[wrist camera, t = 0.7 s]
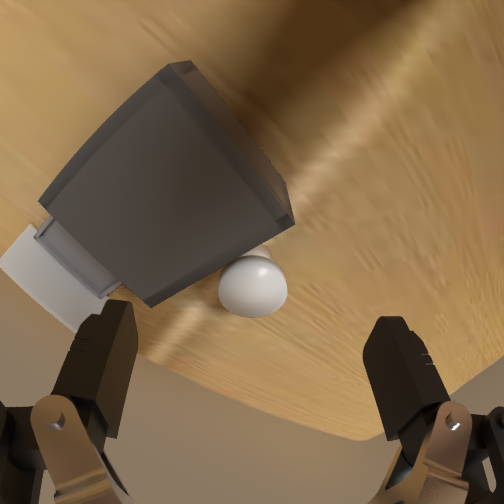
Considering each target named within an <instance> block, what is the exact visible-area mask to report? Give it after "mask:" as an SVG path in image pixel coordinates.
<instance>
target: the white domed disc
mask: <svg viewBox="0 0 504 504" xmlns="http://www.w3.org/2000/svg"><path fill="white" fill-rule="evenodd" d="M218 297H219V300H220V302H221V304H222V305H223V306H224V307H225V308H226V309H227V310H228V311H230V312H231V313H233V314H236V315H238V316H242V317H249V318H256V317H263V316H266V315H269V314H272V313H273V312H275V311H277V310H278V309H279V308H280V307H281V306H282V305H283V304H284V302H285V300H286V298H287V285H286V277H285V273H284V271H283V269H282V268H281V267H280V266H279V265H278V264H277V263H276V262H275V261H273V260H271V259H269V258H266V257H263V256H257V255H248V256H242V257H239V258H236V259H235V260H233V261H231V262H229V263H228V264H227V265H226V266H225V267H224V268H223V270H222V271H221V273H220V277H219V285H218Z"/></svg>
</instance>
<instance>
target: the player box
mask: <svg viewBox="0 0 504 504" xmlns="http://www.w3.org/2000/svg"><path fill="white" fill-rule="evenodd" d="M38 202H39V203H40V204H41V205H42V206H43V207H44V208H45V209H46V210H47V211H48V212H49V213H50V214H51V215H52V217H53V218H54V219H55V220H56V221H57V222H58V223H59V224H60V225H61V226H62V227H63V228H64V229H65V230H66V231H67V232H68V233H69V234H70V235H71V236H72V237H73V238H74V239H75V240H76V241H77V242H78V243H79V244H80V245H81V246H82V247H83V248H84V249H86V250H87V251H88V252H89V253H90V254H91V255H92V256H93V257H94V258H95V259H96V260H97V261H98V262H99V263H100V264H101V265H103V266H104V267H105V268H106V269H107V270H108V271H109V272H110V273H111V274H112V275H113V276H115V277H116V278H117V279H118V280H119V281H120V282H121V283H122V284H124V285H125V286H126V287H127V288H128V289H129V290H130V291H132V292H133V293H134V294H135V295H136V296H137V297H139V298H140V299H141V300H142V301H143V302H144V303H146V304H147V305H148V306H149V307H150V308H152V307H154V306H156V305H157V304H159V303H161V302H162V301H164V300H166V299H168V298H169V297H171V296H173V295H174V294H176V293H178V292H180V291H181V290H183V289H185V288H186V287H188V286H190V285H192V284H193V283H195V282H197V281H199V280H200V279H202V278H204V277H205V276H207V275H209V274H211V273H212V272H214V271H216V270H217V269H219V268H221V267H223V266H224V265H226V264H228V263H229V262H231V261H233V260H235V259H236V258H238V257H240V256H242V255H243V254H245V253H247V252H248V251H250V250H252V249H254V248H255V247H257V246H259V245H260V244H262V243H264V242H266V241H267V240H269V239H271V238H273V237H274V236H276V235H278V234H279V233H281V232H283V231H285V230H286V229H288V228H290V227H292V226H293V225H295V221H294V216H293V212H292V208H291V204H290V200H289V196H288V191H287V187H286V183H285V181H284V180H283V179H282V177H281V176H280V174H279V173H278V172H277V170H276V169H275V168H274V166H273V165H272V163H271V162H270V161H269V159H268V158H267V157H266V155H265V154H264V153H263V151H262V150H261V149H260V147H259V146H258V145H257V143H256V142H255V141H254V139H253V138H252V137H251V135H250V134H249V133H248V131H247V130H246V129H245V127H244V126H243V125H242V124H241V122H240V121H239V120H238V118H237V117H236V116H235V115H234V113H233V112H232V111H231V109H230V108H229V107H228V106H227V104H226V103H225V102H224V101H223V99H222V98H221V97H220V96H219V94H218V93H217V92H216V91H215V89H214V88H213V87H212V86H211V85H210V83H209V82H208V81H207V80H206V78H205V77H204V76H203V75H202V74H201V72H200V71H199V70H198V69H197V68H196V66H195V65H194V64H193V63H192V62H191V61H183V62H176V63H170V64H167V65H166V66H165V67H164V68H163V69H161V70H160V71H159V72H158V73H157V74H155V75H154V76H153V77H152V78H151V79H150V80H149V81H147V82H146V83H145V84H144V85H143V86H142V87H141V88H139V89H138V90H137V91H136V92H135V93H134V94H133V95H132V96H131V97H130V98H129V99H128V100H126V101H125V102H124V103H123V104H122V105H121V106H120V107H119V108H118V109H117V110H116V111H115V112H114V113H113V114H112V115H111V116H110V117H109V118H108V119H107V120H106V121H105V122H104V123H103V124H102V125H101V126H100V127H99V128H98V129H97V131H96V132H95V133H94V134H93V135H92V136H91V137H90V138H89V139H88V140H87V141H86V142H85V144H84V145H83V146H82V147H81V148H80V149H79V150H78V151H77V153H76V154H75V155H74V156H73V157H72V158H71V160H70V161H69V162H68V163H67V164H66V166H65V167H64V168H63V169H62V170H61V172H60V173H59V174H58V175H57V177H56V178H55V179H54V180H53V182H52V183H51V184H50V186H49V187H48V188H47V189H46V191H45V192H44V193H43V195H42V196H41V197H40V199H39V200H38Z"/></svg>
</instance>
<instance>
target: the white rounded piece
mask: <svg viewBox="0 0 504 504" xmlns="http://www.w3.org/2000/svg"><path fill="white" fill-rule="evenodd" d="M248 255H257V256H263V257H266V258H269V259H271V260H273V257H272V253H271V251H270V249H269V248H268V247H267V246H265V245H264V244H260V245H259V246H257V247H255V248H254V249H252V250H250V251H248V252H247V253H245V254H243V255H242V256H248ZM242 256H240V257H242ZM238 258H239V257H238Z"/></svg>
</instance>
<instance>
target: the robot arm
mask: <svg viewBox="0 0 504 504" xmlns="http://www.w3.org/2000/svg"><path fill="white" fill-rule="evenodd" d="M137 349H138V333H137V328H136V322H135V317H134V311H133V306H132V303H131V302H129V301H120V300H112V299H108V300H107V301H106V302H105V305H104V307H103V309H102V311H101V314H100V315H99V314H91V315H90V316H89V317H87V318H86V319H85V320H84V321H83V322H82V323H81V324H80V326H79V329H78V331H77V333H76V336H75V340H73V342H72V345H71V347H70V351H68V354H67V356H66V359H65V361H64V363H63V366H62V368H61V371H60V373H59V376H58V378H57V381H56V383H55V386H54V389H53V391H52V392H51V394H50V395H49V396H46V397H43V398H42V399H40V400H39V401H38V402H37V403H36V404H35V405H34V406H30V407H5V406H4V405H3V404H2V402H1V401H0V504H38V502H39V496H40V489H41V483H42V477H43V471H44V470H48V472H49V474H50V477H51V479H52V481H53V484H54V486H55V489H56V493H55V494H54V500H55V503H56V504H137V503H136V502H135V500H134V499H133V498H132V496H131V495H130V493H129V492H128V490H127V489H126V487H125V485H124V484H123V482H122V481H121V479H120V477H119V475H118V474H117V472H116V470H115V469H114V467H113V465H112V463H111V461H110V460H109V458H108V456H107V454H106V452H105V450H104V444H105V439H106V437H110V438H116V439H117V435H118V430H119V425H120V421H121V416H122V412H123V407H124V403H125V398H126V394H127V390H128V386H129V382H130V378H131V373H132V369H133V366H134V362H135V358H136V354H137ZM363 363H364V366H365V369H366V372H367V375H368V378H369V381H370V384H371V388H372V391H373V394H374V397H375V400H376V404H377V407H378V410H379V413H380V417H381V420H382V424H383V427H384V430H385V434H386V437H387V441H392V440H397V439H400V442H401V445H400V446H399V447H398V449H397V451H396V453H395V456H394V458H393V460H392V463H391V465H390V467H389V469H388V472H387V474H386V476H385V478H384V480H383V483H382V485H381V486H380V489H379V491H378V492H377V494H376V495H375V496H374V497H373V498H372V499H371V500H370V501H369V503H368V504H504V407H496V408H494V409H493V410H492V411H491V412H490V413H489V414H488V415H487V416H486V415H476V414H470V413H469V411H468V409H467V408H466V407H465V406H464V405H462V404H460V403H459V402H456V401H451V400H450V398H449V395H448V393H447V391H446V389H445V386H444V384H443V382H442V380H441V378H440V376H439V373H438V371H437V369H436V367H435V365H433V361H432V359H431V357H430V355H428V351H427V349H426V347H425V345H424V343H423V341H422V340H421V339H420V338H419V337H418V336H417V335H416V334H415V332H414V331H410V330H409V328H408V326H407V324H406V322H405V320H404V319H403V318H402V317H401V316H381V317H380V318H379V319H378V320H377V322H376V324H375V326H374V328H373V330H372V332H371V334H370V336H369V338H368V340H367V342H366V344H365V346H364V349H363ZM488 457H489V458H490V462H491V465H492V468H493V471H494V475H495V479H496V489H495V491H494V492H493V493H492V492H491V491H490V489H489V485H488V482H487V478H486V474H485V471H484V467H483V464H482V461H483V460H485V459H486V458H488Z"/></svg>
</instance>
